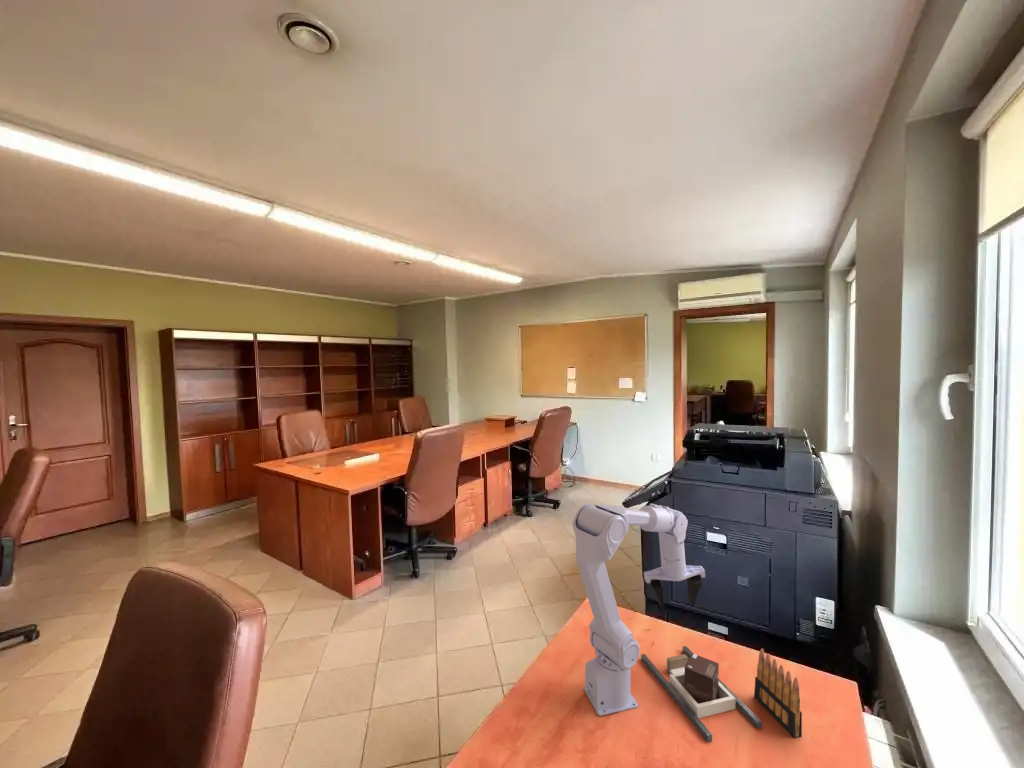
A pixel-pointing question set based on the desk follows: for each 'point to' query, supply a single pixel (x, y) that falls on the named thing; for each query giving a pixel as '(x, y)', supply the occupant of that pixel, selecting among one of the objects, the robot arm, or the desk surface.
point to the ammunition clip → (778, 694)
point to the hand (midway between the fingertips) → (676, 604)
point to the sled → (701, 710)
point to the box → (701, 678)
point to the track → (686, 708)
